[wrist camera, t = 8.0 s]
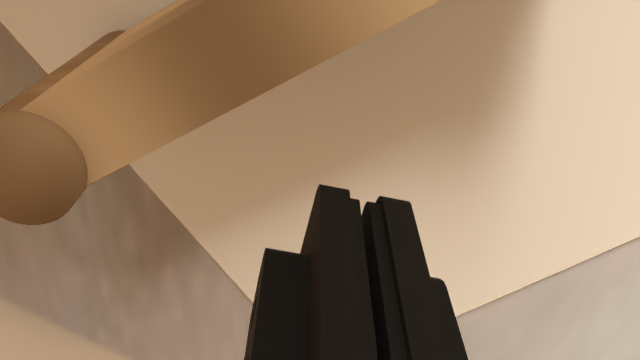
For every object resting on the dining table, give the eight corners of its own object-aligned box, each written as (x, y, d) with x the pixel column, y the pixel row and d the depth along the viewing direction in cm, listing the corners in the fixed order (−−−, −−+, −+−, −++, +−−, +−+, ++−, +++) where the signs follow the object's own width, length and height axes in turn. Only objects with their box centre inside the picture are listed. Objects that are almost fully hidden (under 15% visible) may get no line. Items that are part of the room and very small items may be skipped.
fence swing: (457, -178, 11) (564, -226, 6) (488, -87, 11) (606, -64, 7) (75, 53, 13) (-72, 153, 8) (123, 115, 14) (14, 241, 9)
